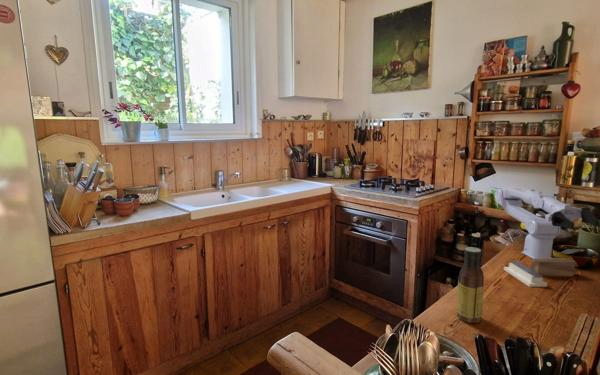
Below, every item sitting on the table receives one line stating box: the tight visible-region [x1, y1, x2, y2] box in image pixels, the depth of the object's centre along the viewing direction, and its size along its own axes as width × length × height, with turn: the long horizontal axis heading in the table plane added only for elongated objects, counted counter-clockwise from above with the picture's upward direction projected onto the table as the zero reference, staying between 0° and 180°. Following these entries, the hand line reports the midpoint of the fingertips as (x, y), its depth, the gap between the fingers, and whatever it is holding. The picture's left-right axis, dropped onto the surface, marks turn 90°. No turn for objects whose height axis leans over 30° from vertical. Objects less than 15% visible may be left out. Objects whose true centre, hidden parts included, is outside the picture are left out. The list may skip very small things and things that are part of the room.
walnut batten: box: [530, 257, 576, 277], centre depth 123 cm, size 4×13×6 cm, turn 91°
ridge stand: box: [503, 260, 548, 288], centre depth 120 cm, size 14×6×4 cm, turn 1°
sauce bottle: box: [456, 246, 485, 324], centre depth 92 cm, size 7×6×20 cm
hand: (584, 224), depth 116 cm, fingers open, 7 cm apart
